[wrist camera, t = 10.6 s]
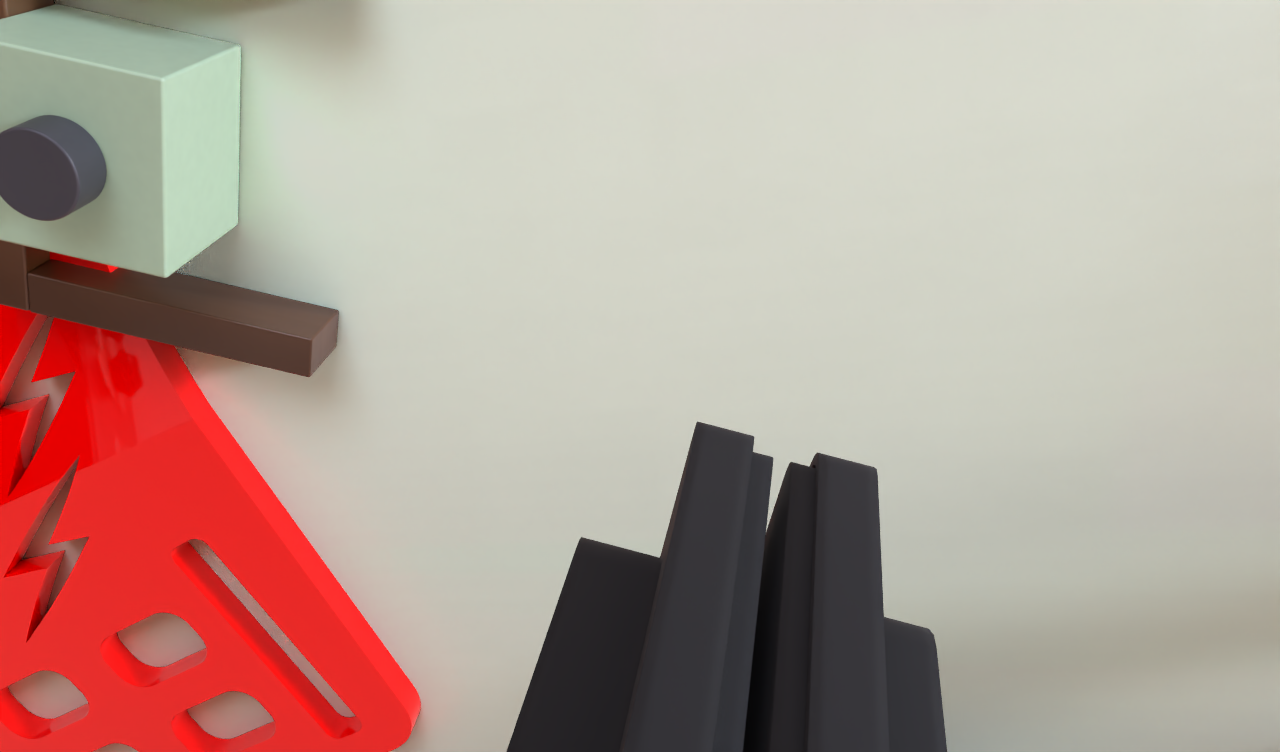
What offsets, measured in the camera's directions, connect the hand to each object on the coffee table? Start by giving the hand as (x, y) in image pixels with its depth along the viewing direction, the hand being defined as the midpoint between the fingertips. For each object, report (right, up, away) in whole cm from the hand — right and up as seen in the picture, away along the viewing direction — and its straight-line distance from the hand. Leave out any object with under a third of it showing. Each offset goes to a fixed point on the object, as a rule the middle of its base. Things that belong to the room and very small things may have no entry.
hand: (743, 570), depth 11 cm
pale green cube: (-14, +9, +20) cm, 26 cm away
